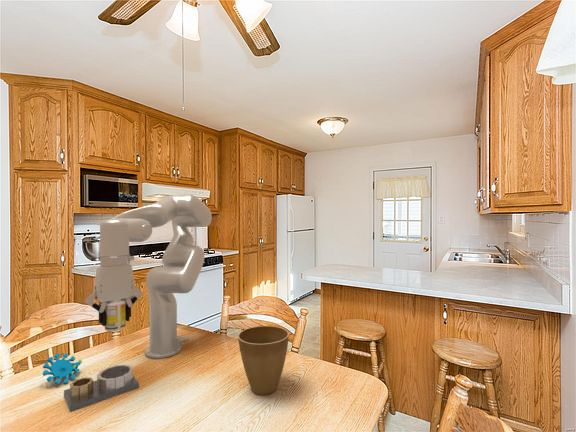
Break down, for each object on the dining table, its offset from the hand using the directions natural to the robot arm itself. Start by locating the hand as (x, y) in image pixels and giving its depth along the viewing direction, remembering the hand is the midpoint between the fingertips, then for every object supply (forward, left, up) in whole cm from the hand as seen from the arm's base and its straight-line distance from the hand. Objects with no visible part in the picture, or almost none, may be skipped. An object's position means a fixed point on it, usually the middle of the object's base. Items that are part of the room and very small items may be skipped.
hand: (115, 321), depth 95 cm
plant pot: (-32, +30, -20) cm, 48 cm away
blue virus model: (+11, -16, -20) cm, 27 cm away
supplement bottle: (0, 0, -2) cm, 2 cm away
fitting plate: (+4, 0, -19) cm, 20 cm away
